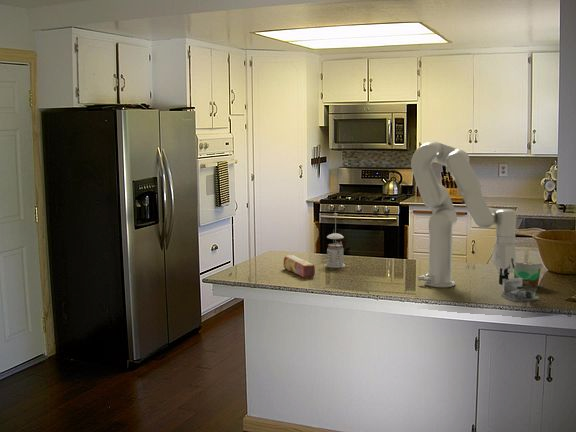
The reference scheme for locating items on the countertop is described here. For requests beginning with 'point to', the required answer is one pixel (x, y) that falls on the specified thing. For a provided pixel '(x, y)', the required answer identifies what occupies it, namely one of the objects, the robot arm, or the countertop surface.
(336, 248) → the french press
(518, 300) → the gauge body
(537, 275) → the food container
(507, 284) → the grey boxy piece
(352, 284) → the countertop surface
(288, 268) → the snack package
